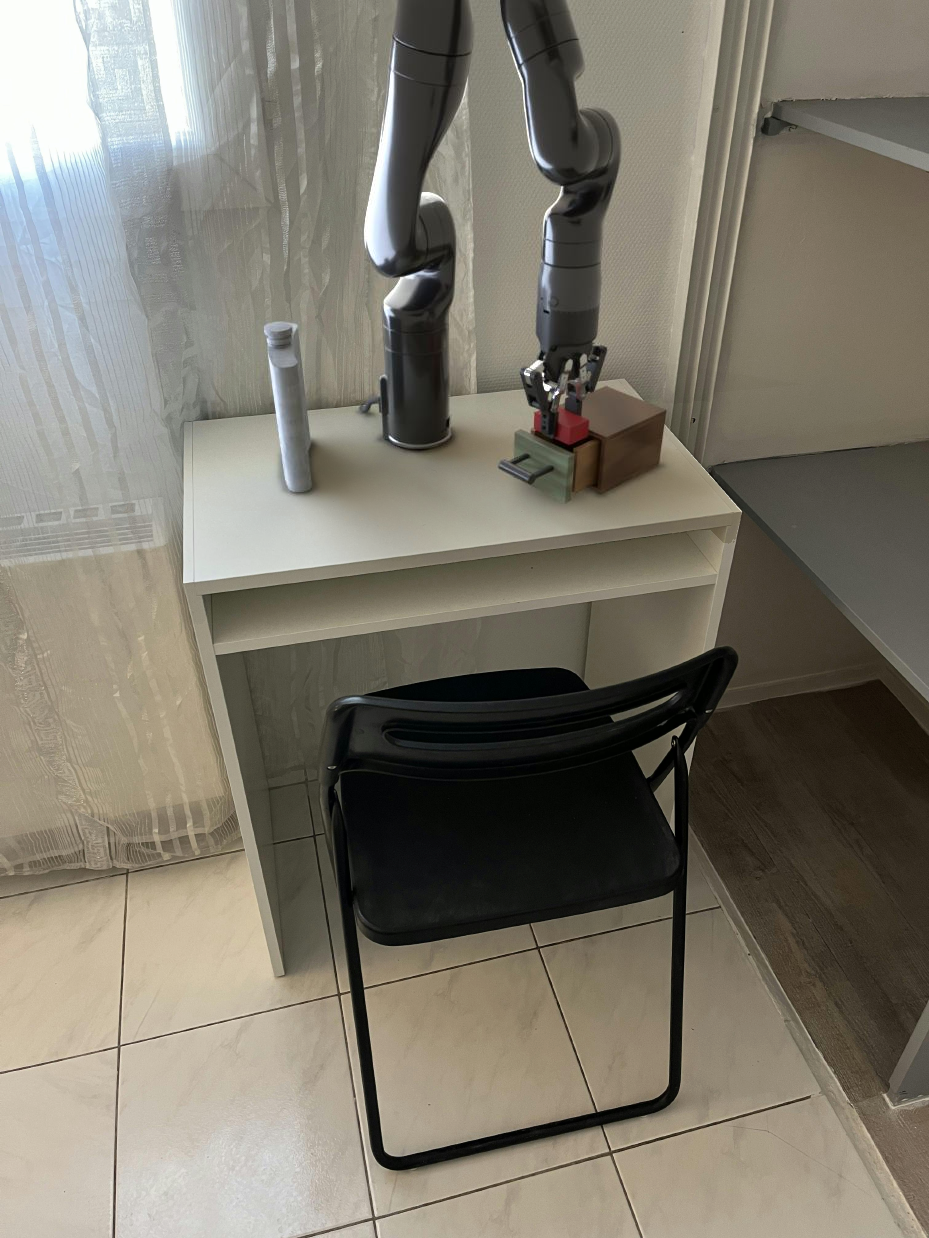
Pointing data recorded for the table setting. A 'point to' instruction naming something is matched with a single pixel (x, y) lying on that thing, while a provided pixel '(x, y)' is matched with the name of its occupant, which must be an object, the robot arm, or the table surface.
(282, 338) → the hip flask
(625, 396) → the cabinet
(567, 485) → the drawer
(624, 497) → the table surface
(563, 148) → the robot arm
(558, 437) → the red block
